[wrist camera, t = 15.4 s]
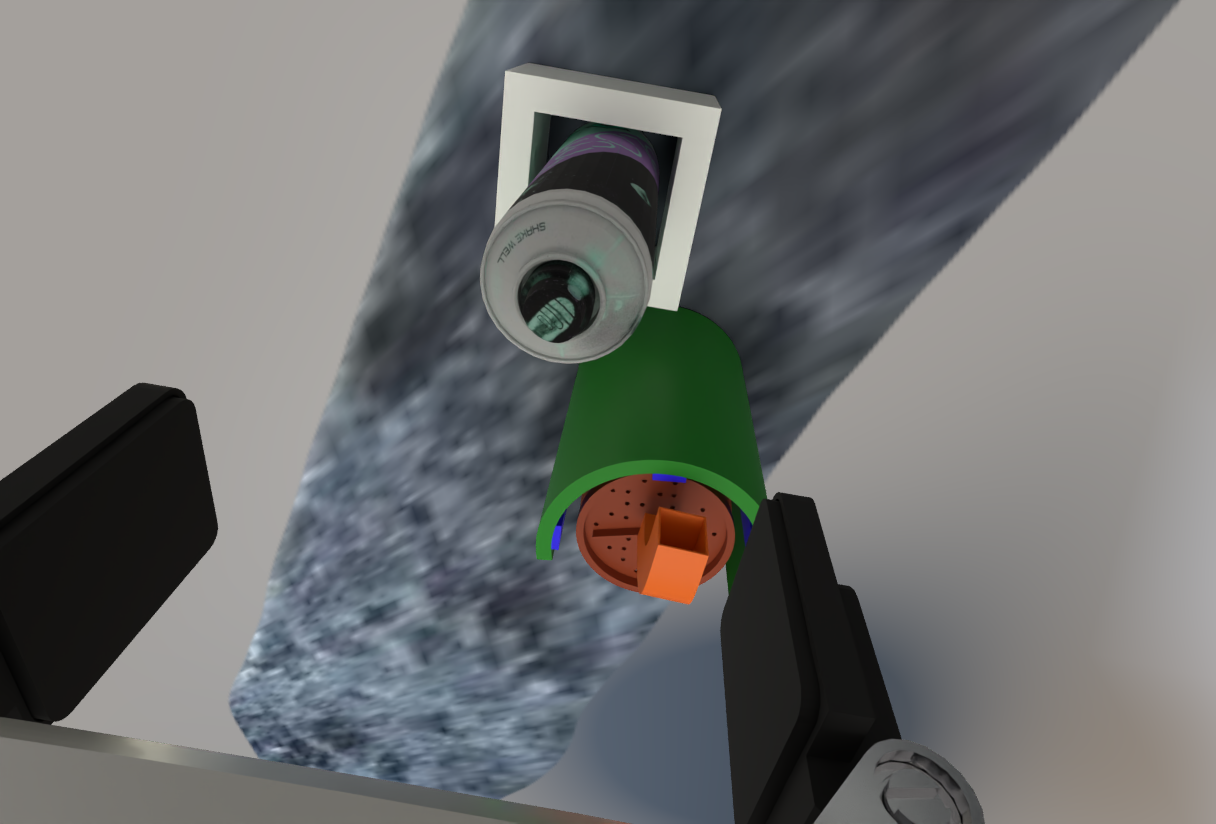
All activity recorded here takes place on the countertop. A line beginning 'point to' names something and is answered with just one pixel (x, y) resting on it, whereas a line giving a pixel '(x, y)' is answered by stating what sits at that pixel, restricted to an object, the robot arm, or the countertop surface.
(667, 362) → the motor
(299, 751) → the countertop surface
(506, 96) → the square frame
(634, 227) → the spray can
